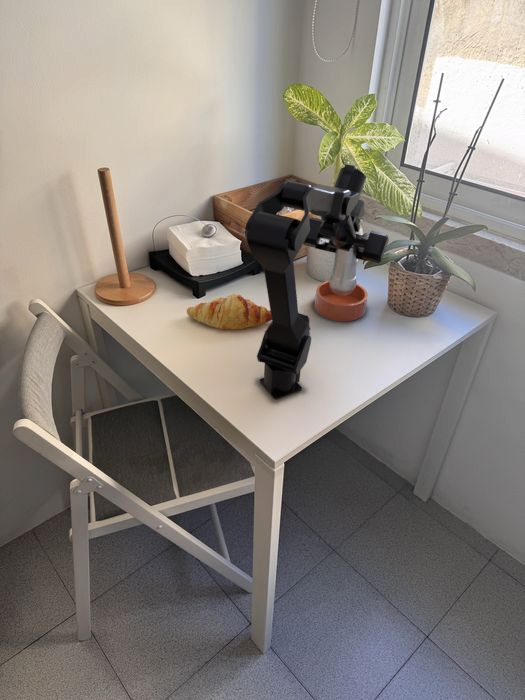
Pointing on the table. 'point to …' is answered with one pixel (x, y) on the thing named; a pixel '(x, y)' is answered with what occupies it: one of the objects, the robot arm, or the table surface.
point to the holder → (340, 303)
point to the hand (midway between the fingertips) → (348, 254)
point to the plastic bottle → (344, 270)
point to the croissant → (230, 313)
